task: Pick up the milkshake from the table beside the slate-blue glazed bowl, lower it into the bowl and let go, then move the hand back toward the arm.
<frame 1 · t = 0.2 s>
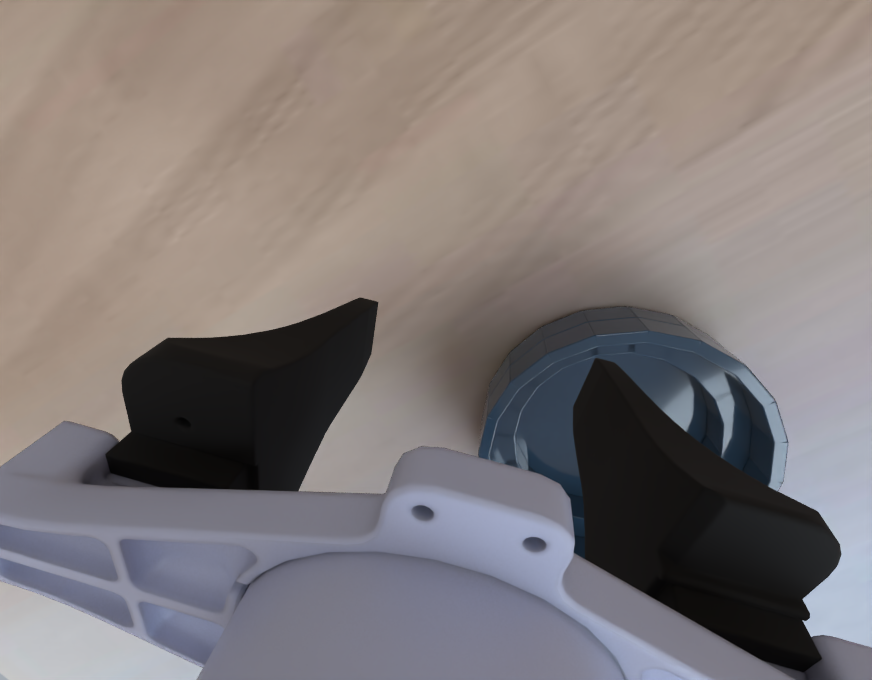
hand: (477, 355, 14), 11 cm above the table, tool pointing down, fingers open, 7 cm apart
bowl: (605, 420, 26), on the table
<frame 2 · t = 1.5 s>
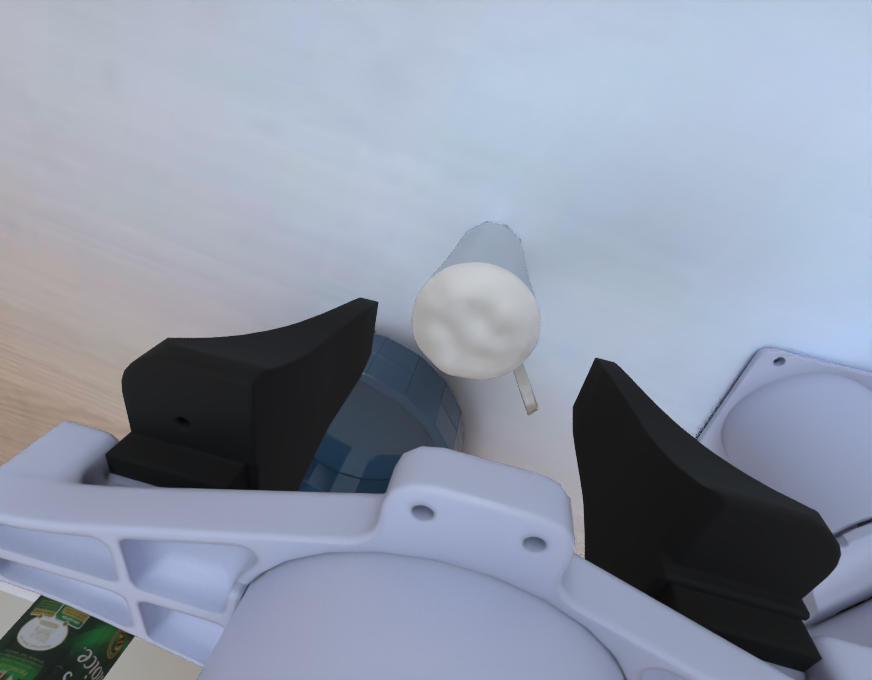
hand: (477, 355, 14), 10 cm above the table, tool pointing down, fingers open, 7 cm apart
bowl: (359, 416, 30), on the table
coffee jar: (137, 559, 45), on the table
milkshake: (496, 257, 23), on the table
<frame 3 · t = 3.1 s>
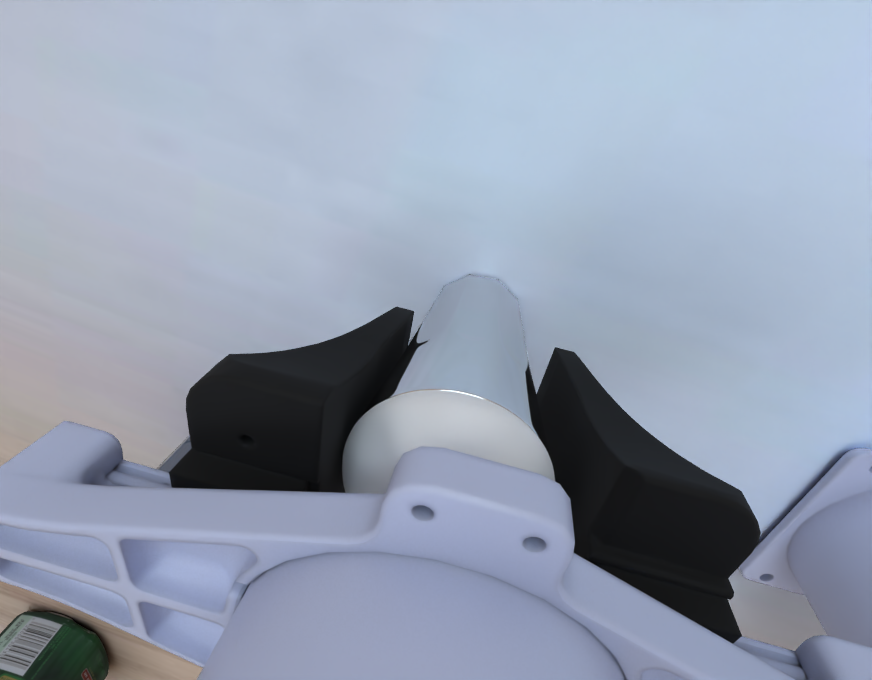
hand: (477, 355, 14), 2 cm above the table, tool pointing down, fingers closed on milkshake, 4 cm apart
bowl: (315, 503, 23), on the table
coffee jar: (74, 635, 39), on the table
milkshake: (484, 319, 17), on the table, touching gripper
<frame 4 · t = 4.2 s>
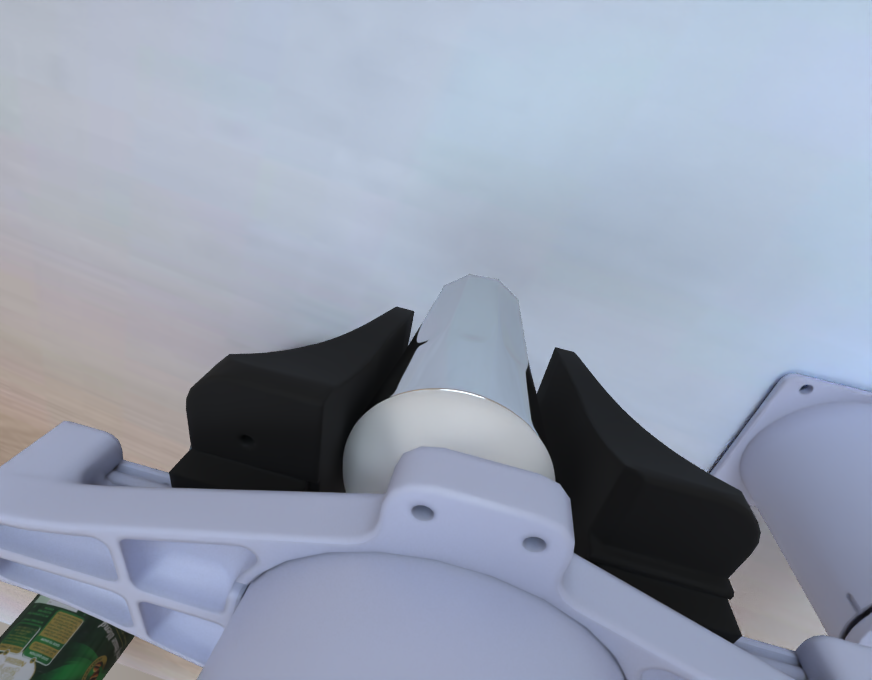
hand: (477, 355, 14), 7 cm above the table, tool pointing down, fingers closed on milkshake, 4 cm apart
coffee jar: (115, 584, 42), on the table
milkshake: (484, 319, 17), point 4 cm above the table, touching gripper
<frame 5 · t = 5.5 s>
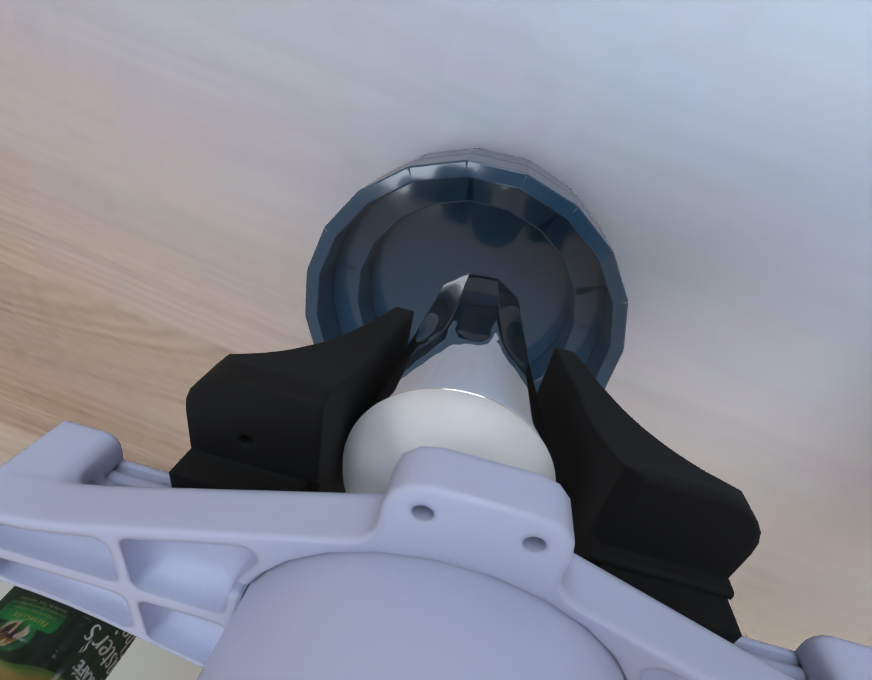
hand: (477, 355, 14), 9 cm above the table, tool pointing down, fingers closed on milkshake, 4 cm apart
bowl: (467, 292, 24), on the table
coffee jar: (168, 507, 39), on the table
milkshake: (484, 318, 17), point 7 cm above the table, touching gripper
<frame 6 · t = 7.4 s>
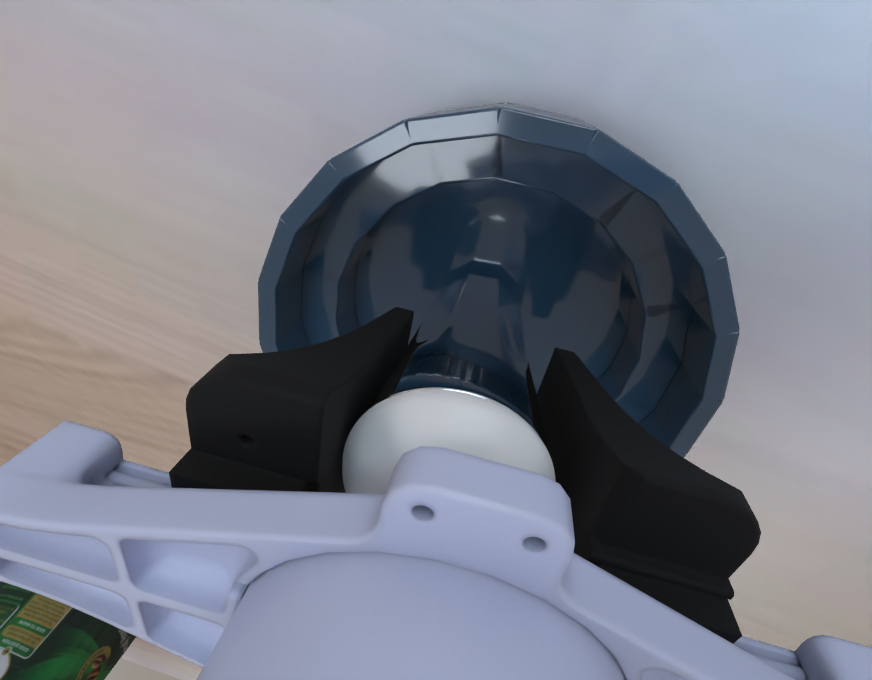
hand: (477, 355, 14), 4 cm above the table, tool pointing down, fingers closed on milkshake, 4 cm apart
bowl: (486, 307, 17), on the table
coffee jar: (121, 554, 33), on the table
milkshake: (484, 319, 17), point 1 cm above the table, touching gripper
when the fingers open (3 cm above the table, at t = 8.1 s): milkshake stays where it is, resting on bowl.
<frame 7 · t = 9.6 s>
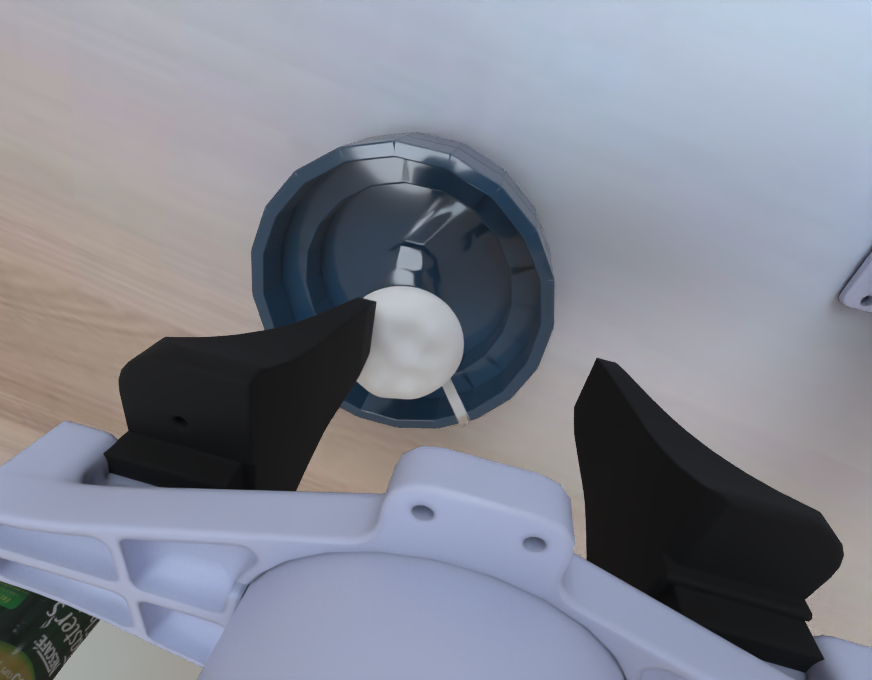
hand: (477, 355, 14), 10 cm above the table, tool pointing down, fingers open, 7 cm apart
bowl: (416, 274, 24), on the table
coffee jar: (140, 492, 39), on the table
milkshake: (413, 279, 24), point 1 cm above the table, touching bowl, gripper
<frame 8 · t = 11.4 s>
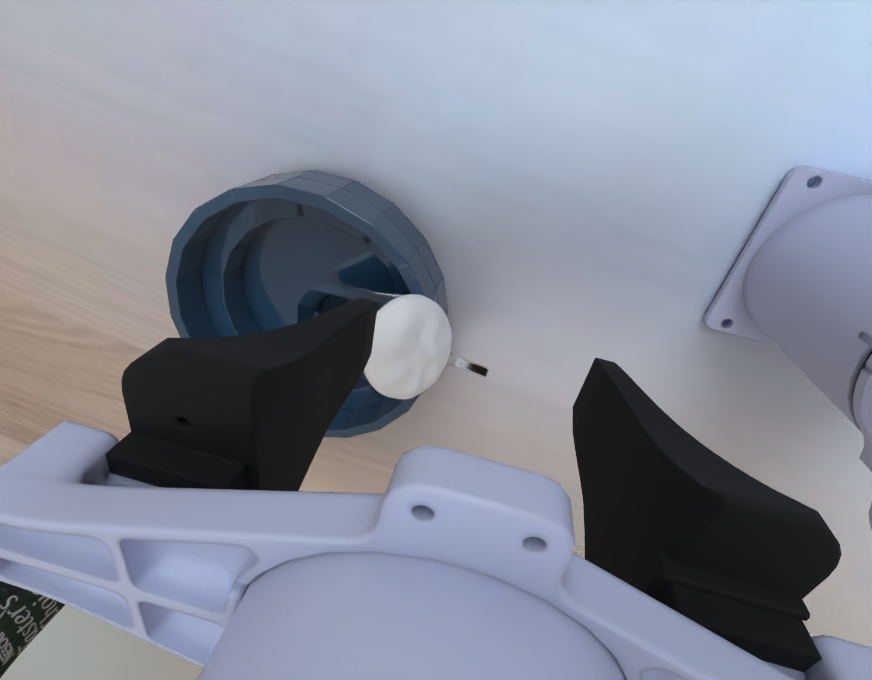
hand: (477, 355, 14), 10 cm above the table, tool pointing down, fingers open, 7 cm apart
bowl: (330, 295, 26), on the table
coffee jar: (102, 493, 42), on the table
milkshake: (328, 313, 25), point 2 cm above the table, touching bowl
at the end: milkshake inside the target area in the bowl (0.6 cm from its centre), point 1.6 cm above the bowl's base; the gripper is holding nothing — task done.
